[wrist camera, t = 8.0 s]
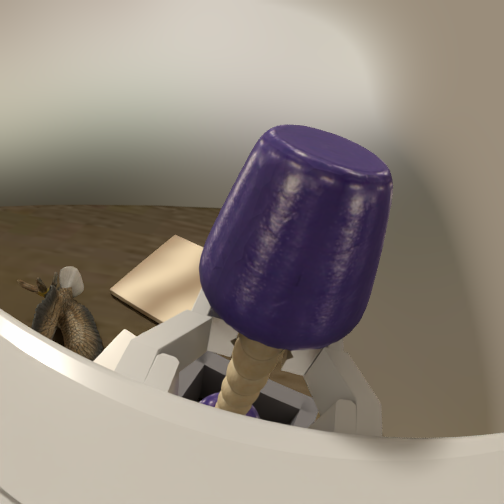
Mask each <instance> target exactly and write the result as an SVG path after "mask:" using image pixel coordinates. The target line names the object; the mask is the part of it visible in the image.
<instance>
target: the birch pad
mask: <svg viewBox="0 0 504 504" xmlns="http://www.w3.org/2000/svg"><path fill="white" fill-rule="evenodd" d="M202 251H203V247H201V246H198V245H196V244H194V243H192V242H190V241H188V240H185V239H183V238H181V237H179V236H177V235H174V236H173V237H172V238H171V239H169V240H168V241H167V242H166V243H164V244H163V245H162V246H161V247H160V248H158V249H157V250H156V251H155V252H153V253H152V254H151V255H150V256H149V257H147V258H146V259H145V260H144V261H143V262H141V263H140V264H139V265H138V266H137V267H135V268H134V269H133V270H132V271H131V272H130V273H128V274H127V275H126V276H125V277H124V278H122V279H121V280H120V281H119V282H118V283H117V284H116V285H114V286H113V287H112V288H111V289H110V293H111V294H112V295H114V296H115V297H117V298H119V299H120V300H122V301H123V302H125V303H126V304H128V305H130V306H131V307H133V308H134V309H136V310H138V311H139V312H141V313H143V314H144V315H146V316H147V317H149V318H151V319H152V320H154V321H156V322H158V323H159V324H161V323H163V322H165V321H167V320H168V319H170V318H172V317H174V316H176V315H178V314H179V313H181V312H183V311H185V310H192V308H193V305H194V303H195V301H196V299H197V297H198V294H199V292H200V290H201V288H202V287H201V283H200V275H199V263H200V258H201V254H202Z"/></svg>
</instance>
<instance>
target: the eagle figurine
mask: <svg viewBox="0 0 504 504" xmlns="http://www.w3.org/2000/svg"><path fill="white" fill-rule="evenodd" d="M57 275H58V274H57V272H55V273H54V278H53V281H52V284H51V285H50V288H46V286H45V285H44V283H43V282H42V280H41V279H40V278H39V277H37V280H36V284H37V286H34V285H30V284H27V283H25V282H24V281H22V280H17V282H18V283H19V284H20V285H21V286H22V287H23V288H25V289H27V290H29V291H32V292H36V293H37V294H38V295H40V296H42V297H45V300H42V303H39V304H38V305H37V308H36V309H35V311H36V313H35V314H34V319H33V324H32V329H33V330H35V331H36V332H38V333H40V334H41V335H43V336H45V337H47V338H48V339H50V340H52V339H53V337H54V334H55V331H56V329H57V328H58V327H59V328H60V329H61V331H62V333H63V338H64V344H65V348H67V349H69V350H71V351H73V352H75V353H77V354H79V355H81V356H83V357H85V358H87V359H89V360H91V361H94V360H95V359H96V358H97V357H98V356H99V355H100V354H101V353H102V349H103V346H102V340H101V339H100V335H99V332H98V330H97V327H96V324H95V322H94V318H93V316H92V314H91V312H89V310H88V308H86V307H85V306H83V305H81V304H80V303H77V301H76V300H74V299H73V298H74V297H76V296H77V295H79V294H80V293H82V292H83V289H84V285H83V281H82V277H81V274H80V273H79V271H78V269H76V268H74V267H64V268H63V269H61V271H60V276H59V277H60V278H59V279H60V287H59V288H57V289H56V285H57Z"/></svg>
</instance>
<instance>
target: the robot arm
mask: <svg viewBox="0 0 504 504" xmlns="http://www.w3.org/2000/svg"><path fill="white" fill-rule="evenodd" d="M237 334H238V332H237V331H236V330H234V329H233V328H232V327H231V326H229V325H228V324H226V323H225V322H224V321H223V319H222V318H221V317H220V316H219V315H218V314H217V313H216V312H215V311H214V310H213V309H212V307H211V306H210V304H209V302H208V300H207V298H206V296H205V294H204V292H203V290H202V288H201V290H200V292H199V294H198V297H197V299H196V301H195V303H194V305H193V308H192V310H185V311H183V312H181V313H179V314H178V315H176V316H174V317H172V318H170V319H168V320H167V321H165V322H163V323H161V324H159V325H157V326H156V327H154V328H152V329H150V330H148V331H146V332H144V333H142V334H141V335H139V336H137V337H135V338H133V339H131V341H130V342H129V344H128V346H127V348H126V350H125V352H124V353H123V355H122V357H121V359H120V361H119V363H118V364H117V366H116V368H115V370H114V371H113V370H110V369H108V368H106V367H104V366H102V365H99V364H97V363H95V362H93V361H91V360H89V359H87V358H85V357H83V356H81V355H79V354H77V353H75V352H73V351H71V350H69V349H67V348H65V347H63V346H61V345H59V344H58V343H56V342H54V341H52V340H50V339H48V338H47V337H45V336H43V335H41V334H40V333H38V332H36V331H35V330H33V329H31V328H30V327H28V326H26V325H25V324H23V323H21V322H20V321H18V320H17V319H15V318H13V317H12V316H10V315H9V314H7V313H6V312H4V311H3V310H1V309H0V504H504V433H497V434H488V435H479V436H466V437H447V438H398V437H382V413H381V412H382V411H381V403H380V401H379V400H378V398H377V397H376V395H375V394H374V392H373V390H372V389H371V387H370V386H369V384H368V383H367V381H366V380H365V378H364V377H363V375H362V374H361V372H360V371H359V369H358V368H357V366H356V365H355V363H354V362H353V360H352V358H351V357H350V356H349V354H348V353H347V352H344V347H343V338H342V339H341V340H339V341H338V342H335V343H332V344H330V345H328V346H326V347H324V348H321V349H308V350H293V351H290V350H287V349H286V350H285V352H284V354H283V359H282V366H281V370H283V371H287V372H291V373H294V374H298V375H303V376H304V379H305V381H306V384H307V386H308V388H309V391H310V393H311V395H312V397H313V400H314V402H315V404H316V407H317V409H318V411H319V413H320V417H319V418H318V419H317V420H316V421H315V422H314V423H313V424H311V425H310V426H309V427H308V428H303V427H297V426H292V425H286V424H281V423H276V422H271V421H267V420H262V419H258V418H253V417H249V416H245V415H241V414H237V413H233V412H230V411H226V410H222V409H219V408H215V407H212V406H208V405H205V404H202V403H198V402H195V401H192V400H189V399H186V398H183V397H180V396H178V391H179V372H180V371H182V370H183V369H184V368H186V367H187V366H188V365H190V364H191V363H192V362H194V361H195V360H196V359H198V358H199V357H200V356H201V355H203V354H204V353H205V352H206V351H211V352H215V353H218V354H222V355H226V356H230V357H231V354H232V351H233V348H234V345H235V341H236V338H237Z"/></svg>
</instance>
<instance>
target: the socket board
mask: <svg viewBox="0 0 504 504" xmlns="http://www.w3.org/2000/svg"><path fill="white" fill-rule="evenodd" d="M135 337H136V336H135V335H133V334H132V333H130V332H129V331H127V330H126V329H124V330H123V331H122V332H121V333H120V334H119V335H118V336H117V337H116V338H115V339H114V340H113V341H112V342H111V343H110V344H109V345H108V346H107V347H106V349H105V350H104V351H103V352H102V353H101V354H100V355H99V356H98V357H97V358H96V359H95V360H94V361H93V362H95V363H97V364H99V365H102V366H104V367H106V368H108V369H110V370H113V371H114V370H115V368H116V366H117V364H118V363H119V361H120V359H121V357H122V355H123V353H124V352H125V350H126V348H127V346H128V344H129V342H130V341H131V339H133V338H135ZM229 362H230V361H229V360H227V359H225V358H223V357H221V356H219V355H217V354H215V353H213V352H211V351H206V352H205V353H204V354H203V355H201V356H200V357H199V358H198V359H196V360H195V361H194V362H192V363H191V364H190V365H188V366H187V367H186V368H184V369H183V370H182V371H180V372H179V391H178V396H180V397H183V398H186V399H189V400H192V401H195V402H197V400H198V399H199V397H201V398H203V399H204V398H205V397H207V396H209V395H211V394H214V393H219V392H220V391H221V386H222V382H223V380H224V378H225V377H226V372H227V367H228V364H229ZM252 405H253V406H254V407H255V409H256V410H257V412H258V415H259V418H260V419H262V420H267V421H271V422H276V423H281V424H286V425H292V426H297V427H303V428H308V427H309V426H310V425H311V424H313V423H314V421H315V419H316V416H317V413H318V409H317V407H316V404H315V402H314V400H313V398H311V397H309V396H306V395H304V394H302V393H299V392H297V391H294V390H292V389H290V388H287V387H285V386H283V385H280V384H278V383H276V382H274V381H271V380H269V379H268V381H267V383H266V384H265V386H264V387H263V388H262V389H261V390H260V394H259V396H258V398H257V399H256V401H255V402H254V403H253V404H252Z"/></svg>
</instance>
